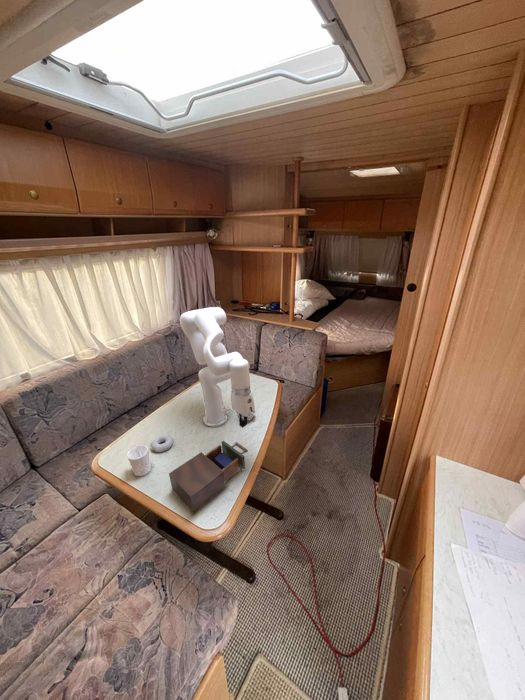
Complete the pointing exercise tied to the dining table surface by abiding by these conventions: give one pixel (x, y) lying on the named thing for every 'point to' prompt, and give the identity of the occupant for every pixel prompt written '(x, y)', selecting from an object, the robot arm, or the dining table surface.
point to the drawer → (230, 453)
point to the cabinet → (197, 481)
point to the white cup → (139, 460)
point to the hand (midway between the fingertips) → (243, 425)
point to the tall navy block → (222, 461)
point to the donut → (164, 446)
